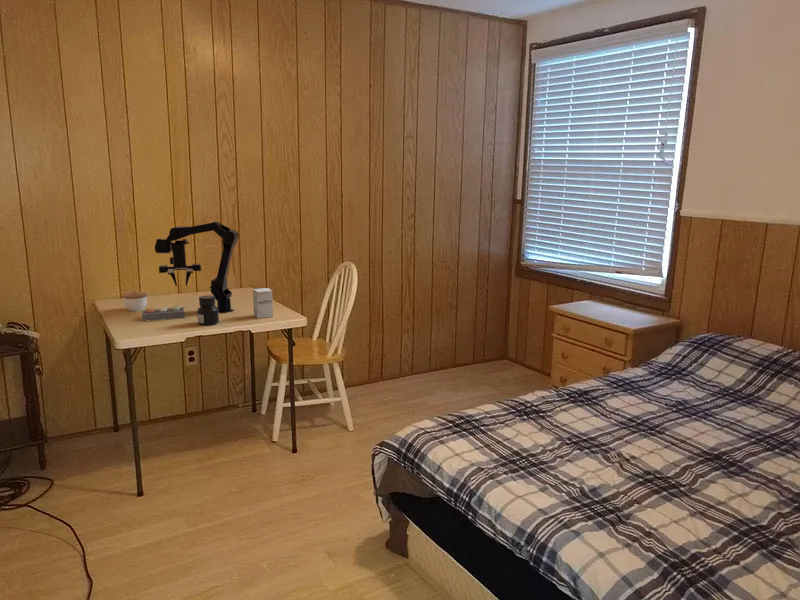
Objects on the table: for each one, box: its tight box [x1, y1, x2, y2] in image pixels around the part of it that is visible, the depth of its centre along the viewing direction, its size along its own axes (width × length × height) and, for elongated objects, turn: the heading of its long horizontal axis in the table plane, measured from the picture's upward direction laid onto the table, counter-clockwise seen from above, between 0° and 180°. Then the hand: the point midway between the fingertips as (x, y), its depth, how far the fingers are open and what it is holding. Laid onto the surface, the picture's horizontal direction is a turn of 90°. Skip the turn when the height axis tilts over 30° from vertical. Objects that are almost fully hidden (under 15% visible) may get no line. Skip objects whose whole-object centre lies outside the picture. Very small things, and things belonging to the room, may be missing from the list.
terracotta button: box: [145, 307, 156, 313], centre depth 278 cm, size 4×4×2 cm
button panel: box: [141, 306, 186, 322], centre depth 281 cm, size 18×9×3 cm, turn 111°
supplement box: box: [252, 287, 274, 319], centre depth 283 cm, size 7×7×13 cm
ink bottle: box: [196, 294, 220, 326], centre depth 270 cm, size 10×9×12 cm
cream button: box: [158, 306, 168, 312], centre depth 280 cm, size 4×4×2 cm
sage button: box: [171, 305, 181, 311], centre depth 282 cm, size 4×4×2 cm
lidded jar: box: [122, 290, 148, 312], centre depth 293 cm, size 11×11×9 cm
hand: (181, 286), depth 291 cm, fingers open, 4 cm apart
